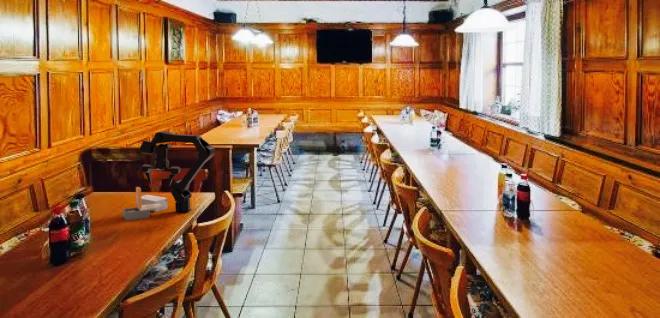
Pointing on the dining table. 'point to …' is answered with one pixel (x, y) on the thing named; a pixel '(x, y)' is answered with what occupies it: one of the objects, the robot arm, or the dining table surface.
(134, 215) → the gray open box
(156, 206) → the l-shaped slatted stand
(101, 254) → the dining table surface
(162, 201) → the skincare box
